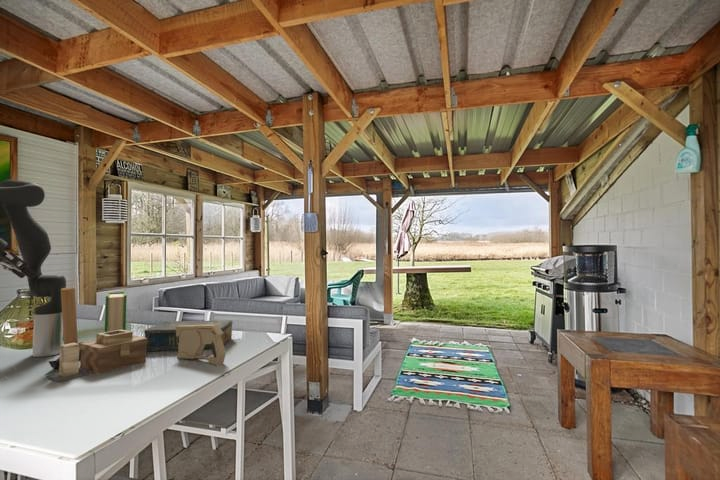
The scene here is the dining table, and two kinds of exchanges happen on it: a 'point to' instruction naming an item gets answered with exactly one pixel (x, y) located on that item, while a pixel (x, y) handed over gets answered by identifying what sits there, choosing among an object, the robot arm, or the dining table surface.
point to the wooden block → (69, 359)
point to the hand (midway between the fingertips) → (29, 276)
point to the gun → (200, 342)
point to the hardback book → (115, 311)
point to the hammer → (68, 320)
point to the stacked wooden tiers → (113, 351)
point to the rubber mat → (60, 378)
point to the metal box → (166, 339)
